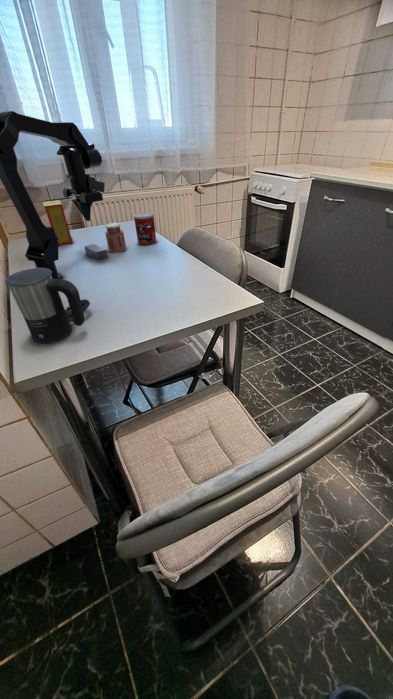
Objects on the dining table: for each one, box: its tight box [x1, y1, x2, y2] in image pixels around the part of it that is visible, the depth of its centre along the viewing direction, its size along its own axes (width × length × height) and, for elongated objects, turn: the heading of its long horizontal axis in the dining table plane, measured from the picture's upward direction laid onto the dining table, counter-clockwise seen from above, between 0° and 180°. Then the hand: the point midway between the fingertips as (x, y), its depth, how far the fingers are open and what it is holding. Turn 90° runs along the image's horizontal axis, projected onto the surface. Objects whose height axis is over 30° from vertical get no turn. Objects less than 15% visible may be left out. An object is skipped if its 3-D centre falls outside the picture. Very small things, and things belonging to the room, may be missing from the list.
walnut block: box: [83, 243, 109, 261], centre depth 113 cm, size 10×4×3 cm, turn 43°
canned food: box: [133, 212, 157, 246], centre depth 121 cm, size 8×8×11 cm
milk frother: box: [4, 267, 91, 344], centre depth 70 cm, size 14×16×15 cm
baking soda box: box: [42, 199, 74, 247], centre depth 125 cm, size 10×6×16 cm
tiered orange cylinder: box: [104, 222, 127, 254], centre depth 116 cm, size 8×11×11 cm
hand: (88, 220), depth 106 cm, fingers closed
